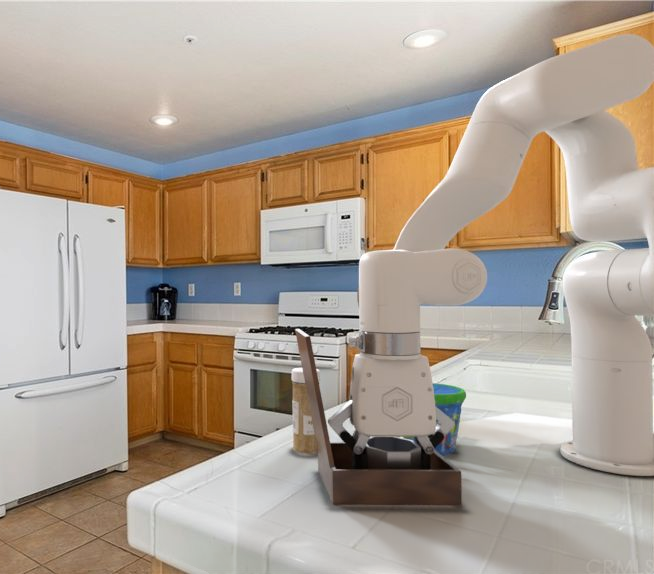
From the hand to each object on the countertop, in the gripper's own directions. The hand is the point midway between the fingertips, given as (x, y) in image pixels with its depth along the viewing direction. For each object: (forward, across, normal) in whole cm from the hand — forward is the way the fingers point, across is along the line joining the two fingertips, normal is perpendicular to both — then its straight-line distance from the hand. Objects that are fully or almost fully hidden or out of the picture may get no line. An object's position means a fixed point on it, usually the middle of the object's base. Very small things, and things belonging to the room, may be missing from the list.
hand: (390, 480), depth 64 cm
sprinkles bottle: (+1, -9, +15) cm, 18 cm away
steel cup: (+1, 0, 0) cm, 1 cm away
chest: (+1, -1, 0) cm, 2 cm away
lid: (-12, -10, 0) cm, 15 cm away
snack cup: (+1, +11, +16) cm, 19 cm away
